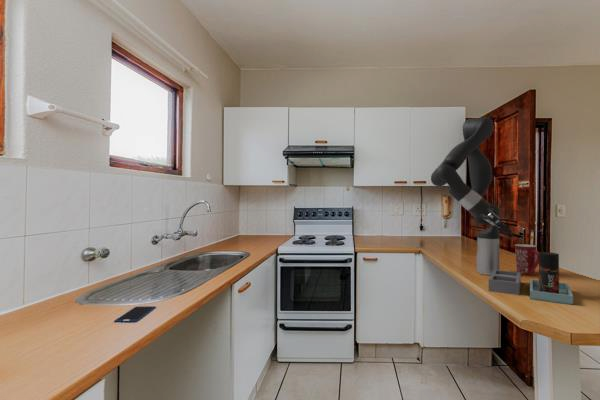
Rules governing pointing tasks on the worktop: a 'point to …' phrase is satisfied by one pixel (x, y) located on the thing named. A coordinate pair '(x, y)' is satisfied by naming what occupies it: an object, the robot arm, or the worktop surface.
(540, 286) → the deodorant
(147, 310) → the cell phone
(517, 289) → the holder
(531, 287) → the tray
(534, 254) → the mug
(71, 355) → the worktop surface
